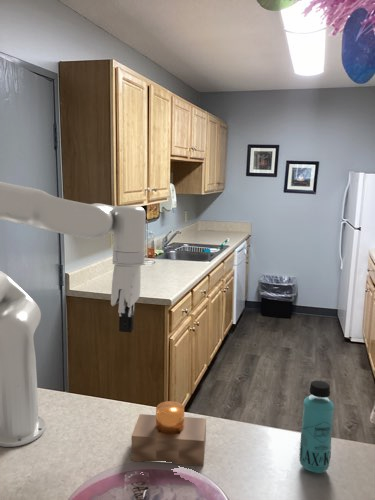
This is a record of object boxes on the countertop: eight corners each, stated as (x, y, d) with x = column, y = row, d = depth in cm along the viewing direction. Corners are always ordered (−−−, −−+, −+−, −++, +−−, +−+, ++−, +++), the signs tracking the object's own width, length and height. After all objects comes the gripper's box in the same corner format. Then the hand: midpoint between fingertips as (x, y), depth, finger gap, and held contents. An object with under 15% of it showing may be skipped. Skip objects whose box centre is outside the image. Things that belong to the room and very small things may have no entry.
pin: (153, 456, 96) (153, 414, 94) (158, 439, 102) (158, 400, 101) (182, 458, 95) (182, 416, 94) (184, 441, 102) (185, 402, 100)
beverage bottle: (292, 464, 95) (297, 379, 92) (316, 457, 97) (321, 374, 94) (311, 483, 89) (317, 393, 86) (336, 475, 91) (343, 387, 88)
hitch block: (131, 460, 95) (131, 435, 94) (139, 437, 104) (139, 414, 103) (203, 466, 94) (204, 440, 93) (205, 441, 103) (206, 418, 102)
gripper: (122, 252, 110) (120, 320, 113) (103, 261, 96) (101, 340, 98) (150, 254, 109) (148, 323, 112) (135, 264, 95) (133, 343, 97)
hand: (126, 330), depth 105 cm, fingers closed
